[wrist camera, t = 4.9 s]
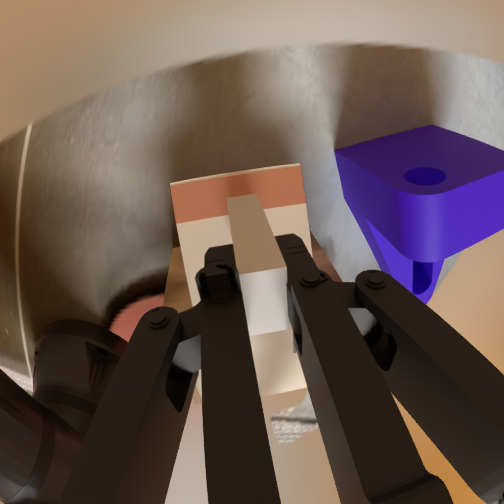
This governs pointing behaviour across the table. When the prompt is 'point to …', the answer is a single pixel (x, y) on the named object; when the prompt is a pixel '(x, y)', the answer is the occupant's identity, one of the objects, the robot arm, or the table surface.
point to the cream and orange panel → (217, 217)
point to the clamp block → (263, 345)
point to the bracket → (422, 199)
